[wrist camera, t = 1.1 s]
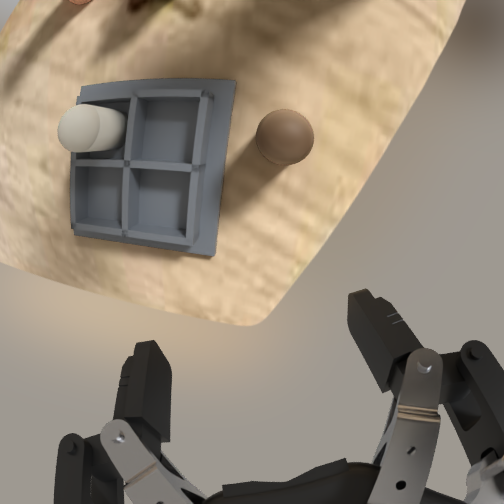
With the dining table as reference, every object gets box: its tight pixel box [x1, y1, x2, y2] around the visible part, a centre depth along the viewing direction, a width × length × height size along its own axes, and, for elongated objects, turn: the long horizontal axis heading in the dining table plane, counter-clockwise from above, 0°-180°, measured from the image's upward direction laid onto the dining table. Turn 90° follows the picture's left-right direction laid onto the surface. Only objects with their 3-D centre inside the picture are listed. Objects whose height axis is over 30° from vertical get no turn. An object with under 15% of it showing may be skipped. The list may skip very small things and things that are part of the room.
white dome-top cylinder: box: [58, 104, 128, 152], centre depth 24 cm, size 5×5×10 cm
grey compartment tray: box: [70, 78, 236, 256], centre depth 29 cm, size 20×20×4 cm
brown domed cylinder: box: [256, 109, 314, 165], centre depth 25 cm, size 5×5×10 cm
